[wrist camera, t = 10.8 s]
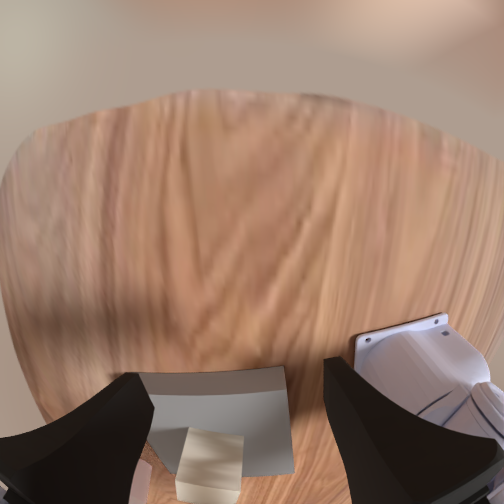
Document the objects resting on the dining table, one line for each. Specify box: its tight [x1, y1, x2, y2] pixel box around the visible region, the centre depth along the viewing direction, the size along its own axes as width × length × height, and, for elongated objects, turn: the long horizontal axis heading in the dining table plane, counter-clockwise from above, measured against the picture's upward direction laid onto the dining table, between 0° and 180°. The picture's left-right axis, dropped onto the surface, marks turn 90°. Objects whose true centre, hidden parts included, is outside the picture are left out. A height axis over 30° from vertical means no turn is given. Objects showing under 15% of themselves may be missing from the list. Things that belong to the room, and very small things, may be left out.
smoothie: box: [129, 459, 152, 504], centre depth 19 cm, size 6×6×14 cm
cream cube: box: [175, 427, 244, 504], centre depth 17 cm, size 5×5×6 cm
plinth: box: [131, 366, 295, 477], centre depth 21 cm, size 14×14×3 cm
